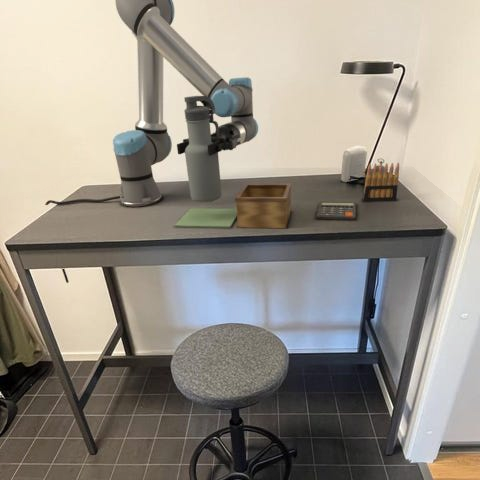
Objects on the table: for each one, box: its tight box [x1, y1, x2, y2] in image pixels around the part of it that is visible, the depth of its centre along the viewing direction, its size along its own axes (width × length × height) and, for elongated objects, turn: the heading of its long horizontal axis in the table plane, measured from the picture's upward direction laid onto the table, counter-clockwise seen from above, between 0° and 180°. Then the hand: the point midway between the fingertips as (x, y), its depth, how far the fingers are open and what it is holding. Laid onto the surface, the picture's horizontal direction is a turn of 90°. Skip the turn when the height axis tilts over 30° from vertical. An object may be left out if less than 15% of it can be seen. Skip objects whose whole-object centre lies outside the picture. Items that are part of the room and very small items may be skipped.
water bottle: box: [184, 95, 222, 203], centre depth 117 cm, size 10×10×28 cm
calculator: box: [315, 200, 357, 221], centre depth 127 cm, size 12×1×15 cm
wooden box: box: [234, 183, 292, 229], centre depth 122 cm, size 15×15×9 cm
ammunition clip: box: [362, 162, 400, 202], centre depth 131 cm, size 11×2×12 cm, turn 85°
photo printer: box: [340, 145, 368, 183], centre depth 153 cm, size 10×4×12 cm, turn 123°
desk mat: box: [174, 208, 237, 229], centre depth 129 cm, size 18×16×1 cm
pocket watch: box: [371, 158, 389, 182], centre depth 145 cm, size 8×8×10 cm
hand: (193, 149), depth 113 cm, fingers closed on water bottle, 10 cm apart
